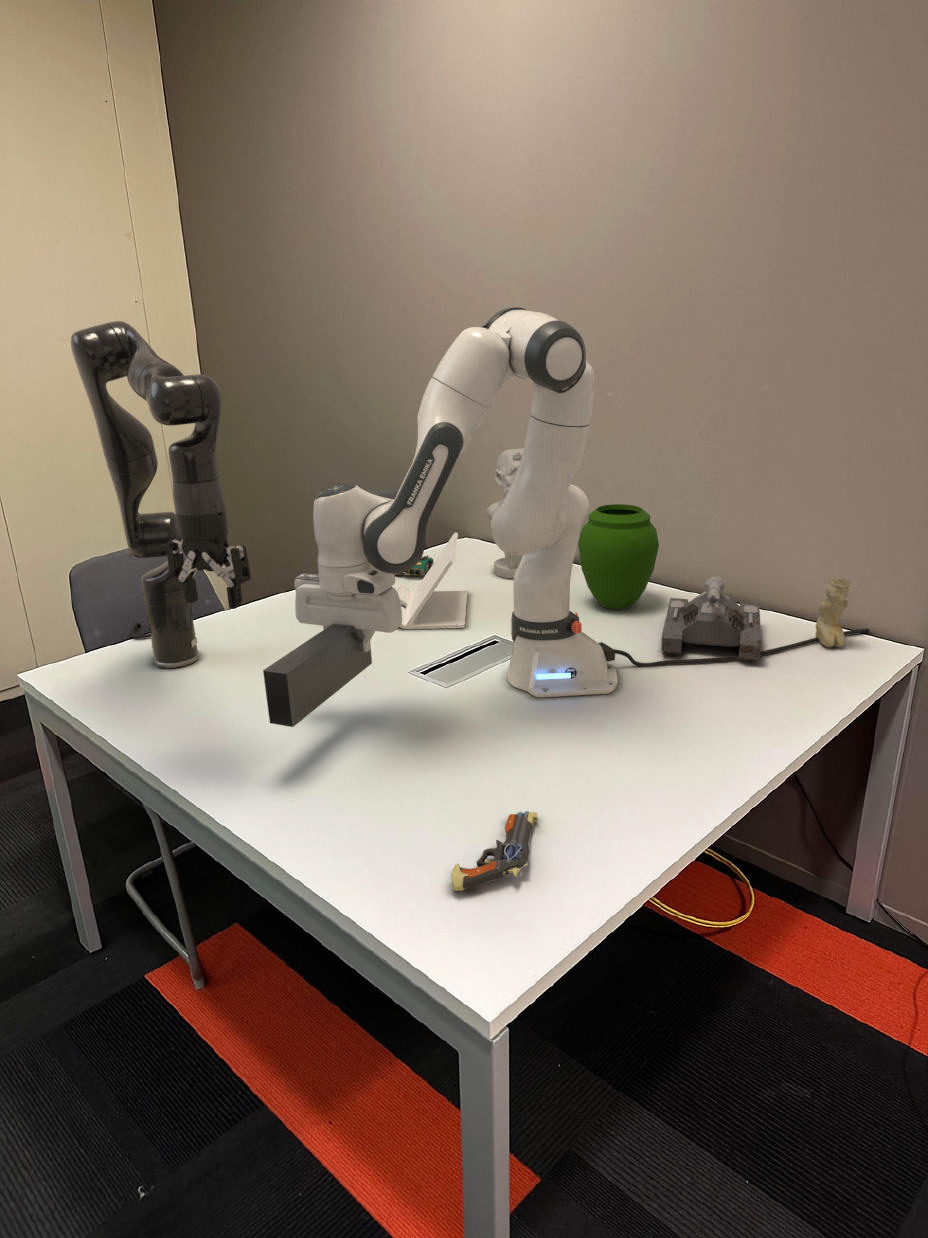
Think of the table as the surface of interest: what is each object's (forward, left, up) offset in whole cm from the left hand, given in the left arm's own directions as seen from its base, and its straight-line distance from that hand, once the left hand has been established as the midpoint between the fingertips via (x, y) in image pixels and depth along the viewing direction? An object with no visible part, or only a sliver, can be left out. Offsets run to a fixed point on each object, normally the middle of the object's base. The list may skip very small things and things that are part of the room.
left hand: (213, 604), depth 140 cm
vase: (-13, +105, -28) cm, 109 cm away
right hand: (+1, +24, -14) cm, 27 cm away
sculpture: (+35, +122, -28) cm, 130 cm away
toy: (+18, +104, -28) cm, 109 cm away
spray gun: (-71, +80, -28) cm, 111 cm away
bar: (+7, +15, -18) cm, 24 cm away
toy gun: (+51, +19, -28) cm, 61 cm away
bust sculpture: (-46, +102, -28) cm, 116 cm away
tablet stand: (-39, +66, -28) cm, 81 cm away
